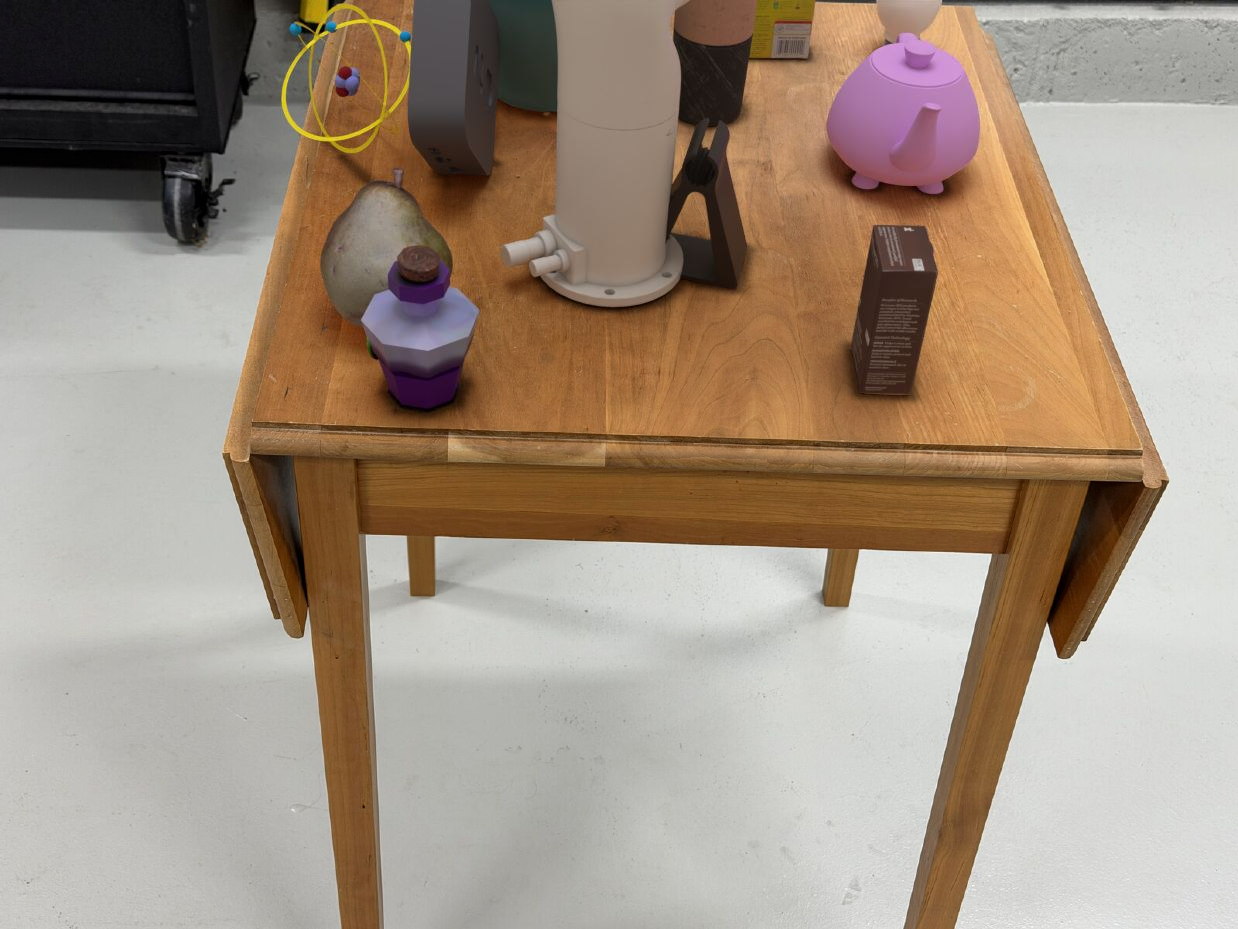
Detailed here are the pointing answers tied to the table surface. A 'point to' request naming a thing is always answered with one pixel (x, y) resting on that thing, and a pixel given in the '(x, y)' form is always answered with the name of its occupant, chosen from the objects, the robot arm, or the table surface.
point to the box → (893, 308)
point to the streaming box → (454, 85)
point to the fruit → (374, 244)
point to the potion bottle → (420, 331)
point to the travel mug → (713, 57)
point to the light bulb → (906, 17)
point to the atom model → (345, 77)
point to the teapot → (905, 117)
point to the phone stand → (709, 211)
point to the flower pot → (527, 54)
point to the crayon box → (782, 29)
